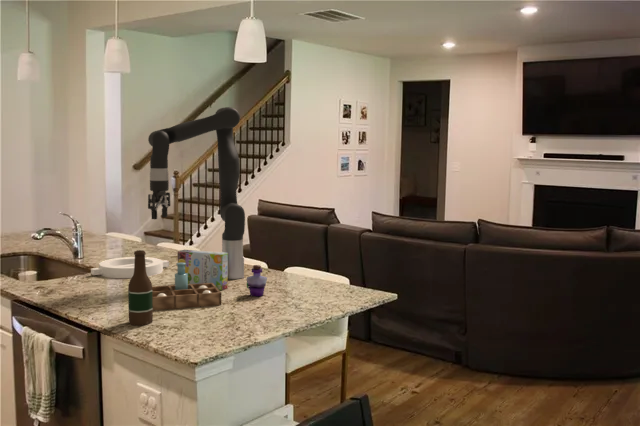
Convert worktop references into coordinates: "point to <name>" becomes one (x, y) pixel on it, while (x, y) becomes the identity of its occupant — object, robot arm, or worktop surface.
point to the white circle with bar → (128, 267)
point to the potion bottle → (256, 282)
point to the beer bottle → (140, 293)
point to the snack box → (205, 267)
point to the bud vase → (181, 277)
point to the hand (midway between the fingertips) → (159, 218)
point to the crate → (185, 296)
